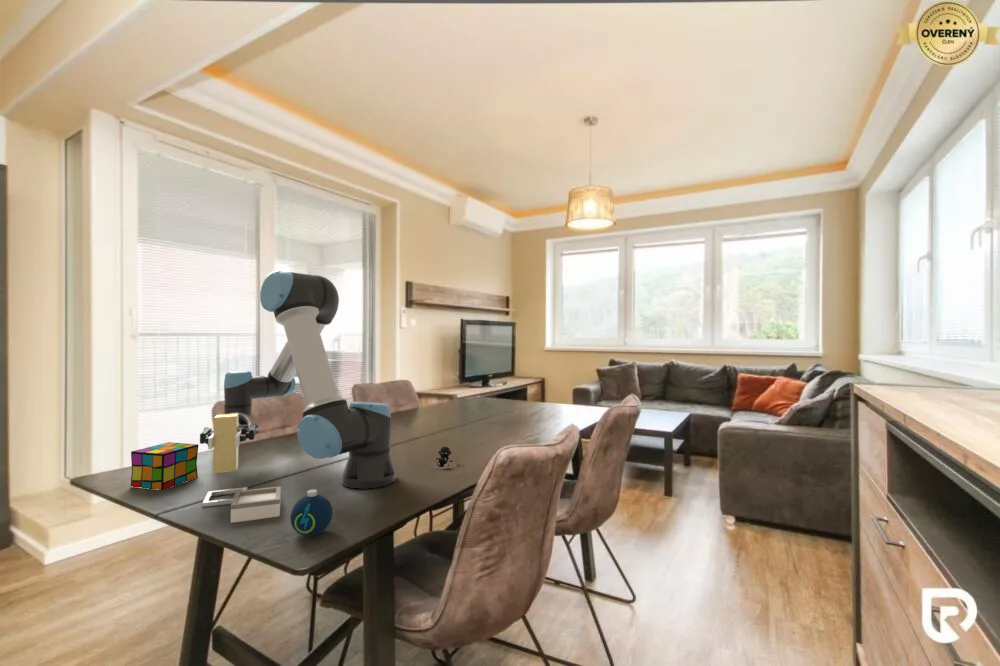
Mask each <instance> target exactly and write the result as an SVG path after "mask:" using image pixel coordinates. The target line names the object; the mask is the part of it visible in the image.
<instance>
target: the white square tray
mask: <svg viewBox="0 0 1000 666" xmlns="http://www.w3.org/2000/svg"><path fill="white" fill-rule="evenodd" d="M281 492H282V485H281V486H271V487H262V488H254V489H253V488H252V489H251V488H250V489H247V490H242V491H236V492H235V493H234V494H233V501H232V504H230V524H231V523H240V522H248V521H256V520H262V519H269V518H270V519H271V518H276V517H277V518H278V517H280V516H281V495H282V493H281Z"/></svg>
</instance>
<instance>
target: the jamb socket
mask: <svg viewBox="0 0 1000 666" xmlns="http://www.w3.org/2000/svg"><path fill="white" fill-rule="evenodd" d="M242 490H248V487H247V486H246V487H245V486H244V487H238V488H227V489H219V490H210V491H207V493H206V495H205V496H204V499H203V501H202V504H201V505H202V508H205V507H214V506H223V505H231V504H232V501H233V498H234V497H233V498H232V497H231V498H225V499H224V498H222V499H215V500H210V499H212V498H213V497H214V496H223V495H224V496H225V495H232V494H233V493H234V494H235V492H236V491H242ZM234 494H233V495H234Z"/></svg>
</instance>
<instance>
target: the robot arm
mask: <svg viewBox="0 0 1000 666" xmlns="http://www.w3.org/2000/svg"><path fill="white" fill-rule="evenodd" d="M259 300H260V304H261V306H262V308H263V309H264V310H265V311H267V312H269V313H272V312H273V314H274V318H275V321H276V323H277V324H279V325H281V326H283V329H284V332H285V336H286V339H287V341H286V343H285V345H284V346H283V348H282V349H281V352H279V355H278V357H277V359H276V360H275V362H274V364H273V365H272V367H271V369H270V370H269V371H268V373H267V374H265V375H253V372H252V371H251V370H233V371H232V370H231V371H228V372H226V373H225V375H224V382H223V388H224V389H223V395H224V399H223V400H224V406H223V414H237V413H239V429H238V432H237V434H236V436H235V447H238V448H239V447H240V445H241V442H246V441H247V439H248V440H250V441H252V440H255V438H256V435H257V434H259V423H258V424H257V423H255V424H252V423H253V414H252V404H253V401H252V400H259V399H267V398H268V399H269V398H279V397H284V396H289V395H292V393H293V392H294V391H295V388H296V387H295V386H296V385H297V384H296V379H295V376H296V374H297V378H298V381H299V385H300V389H301V391H302V396H303V399H304V403H305V406H304V408H303V411H302V412H301V414H302V415H301V416H302V419H301V420H300V421H299V422H298V426H297V428H298V429H297V431H296V433H297V438H298V439H297V440H298V443H299V445H300V447H301V449H302V450H303V452H305V454H307V455H308V456H310V457H312V459H317V460H320V459H327V458H329V459H331V458H334V457H336V456H338V455H343V454H346V453H348V457H347V461H346V463H345V466H344V469H343V471H342V476H341V484H342V486H344V487H345V488H348V487H350V488H349V489H353V488H359V489H358V490H369V489H368V488H373V489H378V488H377V487H380V488H382V486H384V487H386V486H385V485H387V486H389V485H388V484H390V485H392V484H393V483H394V482H395V481H396V479H397V478H396V477H397V473H396V472H397V471H396V469H395V465H394V462H393V460H392V457H391V430H392V428H391V425H392V422H391V421H392V416H391V407H390V406H389V405H388V404H386V403H381V402H372V401H371V402H370V401H351V402H350V403H349V404H348V402H347V401H348V400H347V399H345V398H344V397H342V396H340V394H339V393H338V389H337V385H336V382H335V379H334V376H333V373H332V368H331V364H330V362H329V358H328V354H327V352H326V349H325V345H324V342H323V339H322V335H321V334H322V332H323V331H324V329H325V327H326V326H328V325H330V324H331V323H332V322H333V320H334V318H335V316H336V314H337V311H338V309H339V304H340V297H339V293H338V290H337V287H336V286H335V284H334V283H333V282H332V281H331V280H330V279H328V278H327V277H325V276H322V275H317V274H309V273H300V272H294V271H291V270H273V271H271V272H270V273H269V274H267V275H266V277H265V279H264V280H263V282H262V285H261V288H260V293H259ZM348 405H349V406H348ZM199 444H201V445H203V444H205V445H207V448H208V449H207V450H213V449H214V429H212V427H208V426H207V427H206V426H205V427H204V428H203V430H202V431H201V432H200V433H199ZM392 482H393V483H392ZM391 483H392V484H391Z"/></svg>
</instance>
